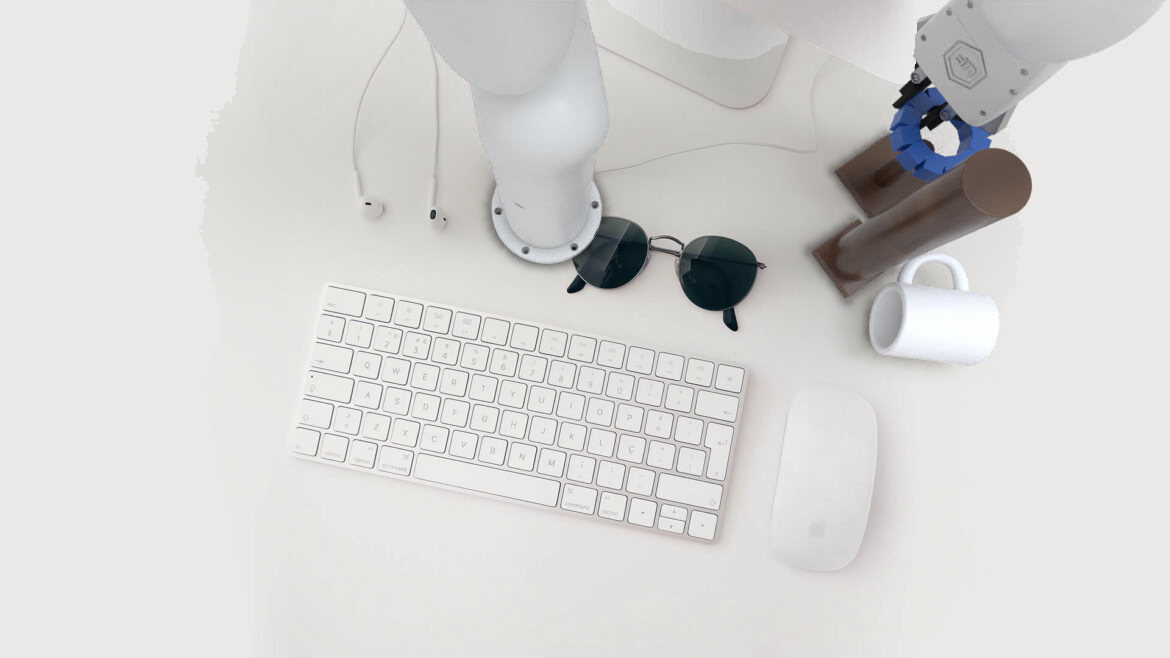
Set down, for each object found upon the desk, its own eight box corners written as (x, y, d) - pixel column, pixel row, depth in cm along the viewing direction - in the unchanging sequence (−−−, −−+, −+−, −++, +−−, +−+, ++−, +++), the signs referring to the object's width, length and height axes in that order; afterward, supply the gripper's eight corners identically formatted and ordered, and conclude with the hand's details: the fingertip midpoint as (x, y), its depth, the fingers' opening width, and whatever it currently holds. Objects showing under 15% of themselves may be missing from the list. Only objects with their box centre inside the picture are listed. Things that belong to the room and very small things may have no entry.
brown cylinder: (810, 252, 73) (938, 170, 48) (854, 221, 74) (1002, 125, 49) (844, 298, 73) (991, 239, 48) (888, 267, 73) (1056, 193, 49)
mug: (951, 368, 72) (999, 362, 64) (866, 357, 72) (903, 350, 64) (955, 266, 74) (1003, 249, 66) (872, 256, 73) (909, 237, 66)
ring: (871, 129, 63) (881, 120, 61) (936, 79, 64) (949, 69, 62) (930, 200, 63) (943, 193, 61) (995, 148, 64) (1010, 140, 62)
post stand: (834, 171, 75) (871, 139, 66) (886, 136, 75) (929, 99, 67) (875, 226, 74) (918, 200, 65) (927, 189, 75) (976, 159, 66)
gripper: (948, -68, 46) (837, 69, 64) (1088, 106, 44) (934, 195, 63) (1025, -117, 47) (893, 32, 65) (1164, 52, 45) (990, 155, 64)
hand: (914, 111), depth 64 cm, fingers closed on ring, 2 cm apart
